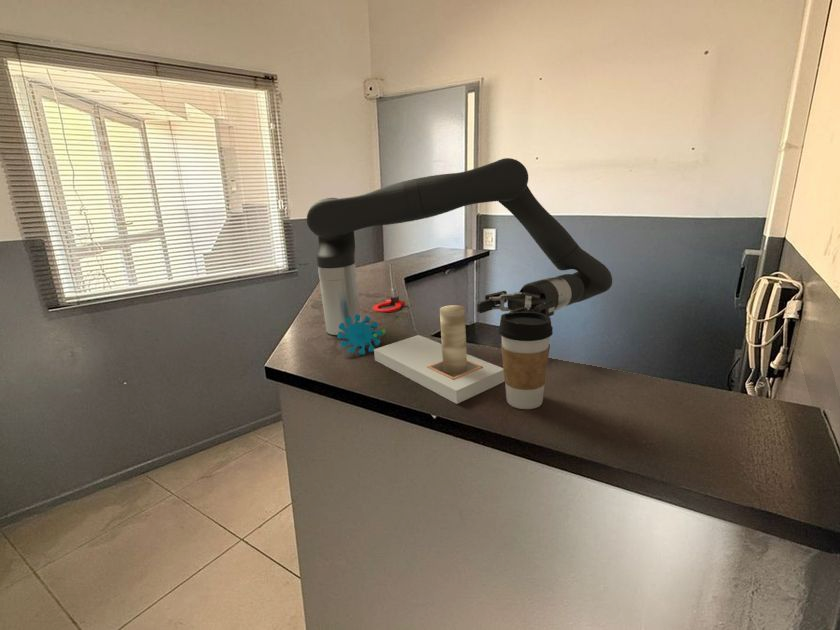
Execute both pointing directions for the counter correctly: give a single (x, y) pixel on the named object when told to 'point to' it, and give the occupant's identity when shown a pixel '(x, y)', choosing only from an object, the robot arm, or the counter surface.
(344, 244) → the robot arm
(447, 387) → the white peg hole board
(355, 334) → the gear
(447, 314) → the peg
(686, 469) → the counter surface
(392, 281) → the tow hook
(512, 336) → the coffee cup
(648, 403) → the counter surface
